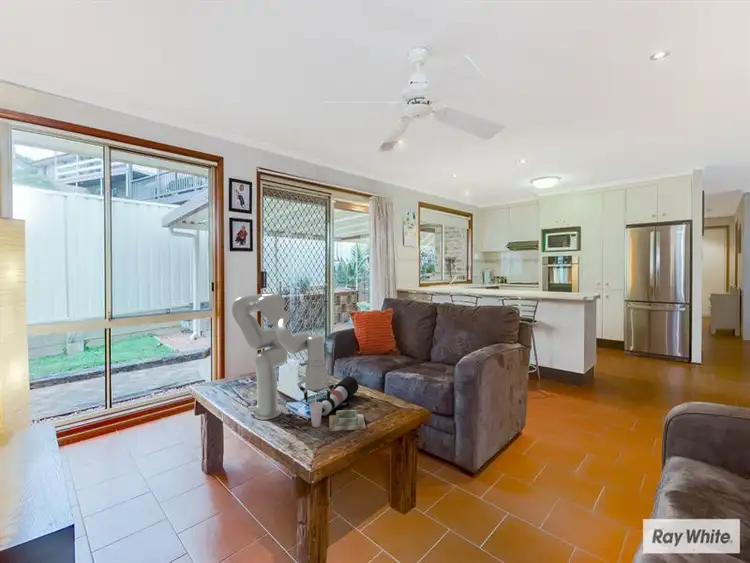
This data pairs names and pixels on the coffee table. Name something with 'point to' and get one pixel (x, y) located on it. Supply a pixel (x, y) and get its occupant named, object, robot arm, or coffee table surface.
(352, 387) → the white black banded cylinder
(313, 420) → the smoothie
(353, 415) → the end holder
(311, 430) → the coffee table surface
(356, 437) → the coffee table surface
